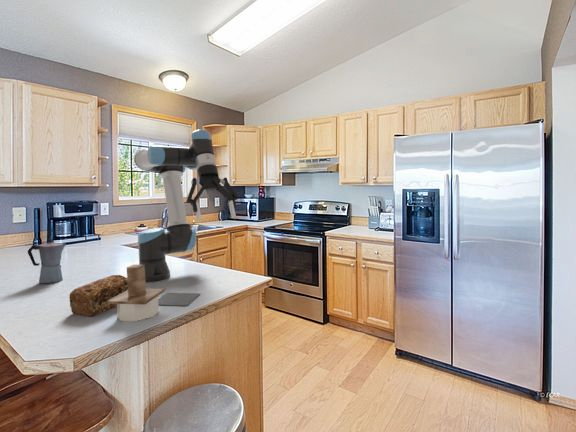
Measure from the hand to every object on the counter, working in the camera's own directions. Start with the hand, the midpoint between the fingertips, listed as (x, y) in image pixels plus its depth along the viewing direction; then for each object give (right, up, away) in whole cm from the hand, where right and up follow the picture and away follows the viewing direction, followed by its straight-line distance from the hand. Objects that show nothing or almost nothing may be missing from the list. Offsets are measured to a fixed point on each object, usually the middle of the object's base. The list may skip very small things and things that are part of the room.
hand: (217, 218), depth 121 cm
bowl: (-25, -33, -11) cm, 42 cm away
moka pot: (-84, -30, +28) cm, 93 cm away
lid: (-25, -27, -12) cm, 38 cm away
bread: (-41, -33, -4) cm, 52 cm away
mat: (-16, -31, +2) cm, 35 cm away
